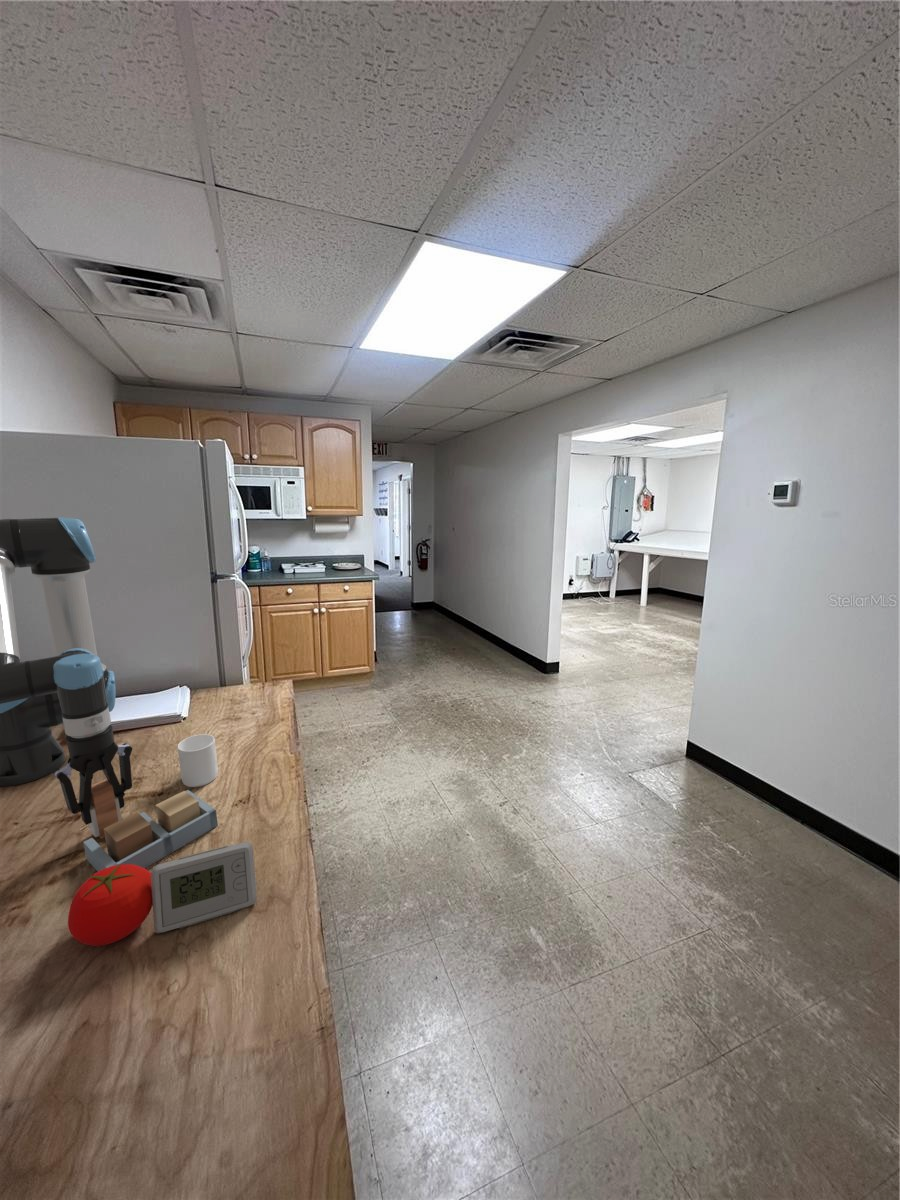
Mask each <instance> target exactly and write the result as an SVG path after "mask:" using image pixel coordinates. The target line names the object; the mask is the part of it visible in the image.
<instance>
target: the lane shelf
mask: <svg viewBox="0 0 900 1200" xmlns="http://www.w3.org/2000/svg"><path fill="white" fill-rule="evenodd" d="M185 791H186V792H187V793H188V794H190V795H191V796H192V797H194V798H195V799H197V800H198V801H199V809H200V817H198V818H196V819H194V820H192V821H191V822H189V823H187V824H185V825H183V826H182V827H180V828H178V829H176V830H174V831H173V832H171V833H168V832H167V831H165V830H164V829H163V828H162V827H161V826H160V825H159V824H158V822H156V821H155V820H154V819H153V818H151V817H150V816H149V815H148V814H147V813H146V812H145V811H142V812H140V813H139V814H140V815H141V816H142V817H143V818H144V819H145V820H147V821H148V822H149V823H150V824H151V829H152V836H153V843H151V844H149V845H147V846H146V847H144V848H142V849H140V850H138V851H137V852H135V853H133V854H131V855H129V856H128V857H126V858H124V859H122V860H120V861H119V862H117V863H116V862H115V861H114V860H113V859H112V858H111V857H110V856H109V855H108V852H107V851H105V850H104V848H103V847H102V846H101V845H100V844H99V843H98V842H97V841H96V840H95V839H94V838H93V837H91V838H88V839H86V840H84V841H83V847H84V853H85V859H86V860H87V861H88V862H89V864H90V865H91V866H92V867H93V868H94V869H95V870H96V871H97V872H99V871H100V870H103V869H105V868H108V867H111V866H116V865H120V864H121V865H126V864H132V865H137V866H140V867H143V868H145V869H147V868H148V867H150V866H151V865H153V864H155V863H157V862H158V861H160V860H162V859H163V858H165V857H166V856H169V855H170V854H172V853H174V852H175V851H177V850H179V849H181V848H182V847H184V846H186V845H188V844H189V843H190V842H193V841H195V840H196V839H198V838H199V837H201V836H202V835H205V834H206V833H208V832H209V831H211V830H213V829H215V828H216V827H218V825H219V824H218V815H217V809H216V808H214V807H213V806H211V805H210V804H209V803H207V801H204V800H203V799H201V798H200V797H199V796H198V795H196V794H195V793H193V792H192V791H190V790H189V789H186V790H185Z"/></svg>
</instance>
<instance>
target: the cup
mask: <svg viewBox="0 0 900 1200" xmlns="http://www.w3.org/2000/svg"><path fill="white" fill-rule="evenodd" d="M177 754H178V760H179V761H178V762H179V769H180V777H181V781H182V783H183V785H185V786H186V787H189V788H198V787H203V786H205V785H208V784H209V783H211V782H213V781H214V780H215V779H216V778H217V776H218V775H219V769H218V757H217V748H216V740H215V737H214V736H213V735H212V734H207V733H202V734H201V733H200V734H195V735H191V736H189V737H186V738H183V740H180V742H179V743H178V744H177Z"/></svg>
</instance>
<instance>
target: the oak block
mask: <svg viewBox="0 0 900 1200" xmlns="http://www.w3.org/2000/svg"><path fill="white" fill-rule="evenodd" d="M186 791H187V790H183V791H181V792H178V793H176V794H175V795H173V796H171V797H169V798H167V799H165V800H162V801H161V802H159V803H157V804H155V809H156V817H157V824H158V825H160V826H161V827H162V828H163V829H164V830H165V831H167V832H168V833H171V832H173V831H174V830H176V829H178V828H180V827H182V826H183V825H185V824H187V823H189V822H191V821H192V820H194V819H196V818H198V817H200V809H199V801H198V800H197V799H195V798H194V797H192V796H191V795H190V794H188V793H187V792H186Z"/></svg>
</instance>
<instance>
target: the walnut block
mask: <svg viewBox="0 0 900 1200" xmlns="http://www.w3.org/2000/svg"><path fill="white" fill-rule="evenodd" d="M91 805H92V806H93V807H94V808H95V811H96V817H97V822H98V828H99V833H100V835H99V836H98V838H100V839H101V840H103V839H105V844H106V850H107V851H106V852H107V854H108V855H109V856H110V857H111V858H112V859H113V860H114V861H115V862H116V863H117V862H119V861H120V860H122V859H124V858H126V857H128V856H129V855H131V854H133V853H135V852H137V851H138V850H140V849H142V848H144V847H146V846H147V845H149V844H151V843H153V836H152V829H151V824H150V823H149V822H148V821H147V820H145V819H144V818H143V817H142V816H141V815H140V813H139V812H138V811H137V812H134V813H132V814H130V815H129V816H126V817H124V818H122V820H120V821H118V815H117V809H116V803H115V798H114V792H113V786H112V784H110V783H109V782H108V780H107V778H106V779H103V780H101V781H98V782H95V783H93V784H92V785H91Z"/></svg>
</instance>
